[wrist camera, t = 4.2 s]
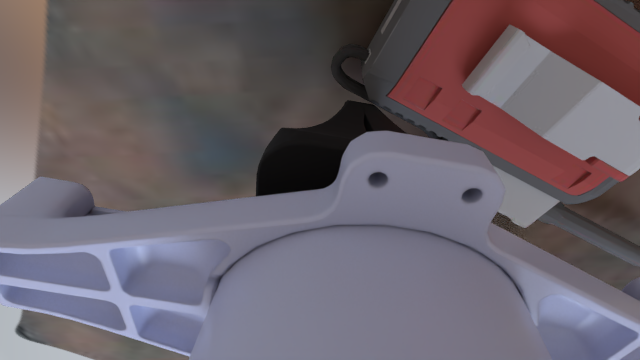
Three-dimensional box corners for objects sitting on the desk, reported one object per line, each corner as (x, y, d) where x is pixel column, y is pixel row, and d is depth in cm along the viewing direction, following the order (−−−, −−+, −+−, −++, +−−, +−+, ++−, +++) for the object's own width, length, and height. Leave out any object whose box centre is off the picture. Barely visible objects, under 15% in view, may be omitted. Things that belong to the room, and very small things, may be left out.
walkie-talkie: (309, 100, 15) (609, 252, 19) (295, 146, 12) (668, 321, 16) (424, -130, 10) (793, 138, 14) (463, -173, 7) (940, 200, 11)
